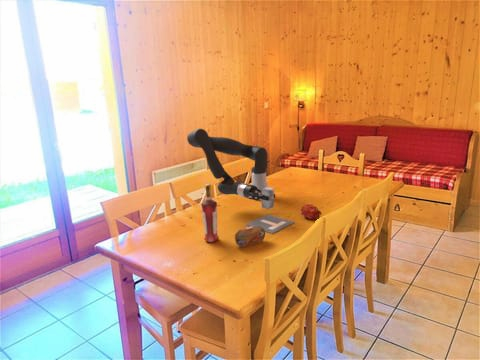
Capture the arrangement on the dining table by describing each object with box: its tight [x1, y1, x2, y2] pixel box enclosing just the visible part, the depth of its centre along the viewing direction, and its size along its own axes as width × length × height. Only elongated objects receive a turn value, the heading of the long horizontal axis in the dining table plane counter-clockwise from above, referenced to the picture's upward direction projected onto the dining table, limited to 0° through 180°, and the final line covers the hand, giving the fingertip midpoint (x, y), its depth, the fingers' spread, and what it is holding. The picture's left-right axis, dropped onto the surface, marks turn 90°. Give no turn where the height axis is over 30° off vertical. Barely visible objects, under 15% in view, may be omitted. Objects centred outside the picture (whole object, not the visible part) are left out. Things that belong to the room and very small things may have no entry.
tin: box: [234, 225, 266, 248], centre depth 171 cm, size 15×3×8 cm, turn 117°
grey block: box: [261, 186, 275, 210], centre depth 190 cm, size 4×4×10 cm
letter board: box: [245, 214, 295, 235], centre depth 194 cm, size 18×18×1 cm
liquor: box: [201, 183, 219, 243], centre depth 174 cm, size 7×7×28 cm
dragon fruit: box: [300, 203, 323, 221], centre depth 198 cm, size 8×8×12 cm
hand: (271, 197), depth 188 cm, fingers closed on grey block, 4 cm apart
